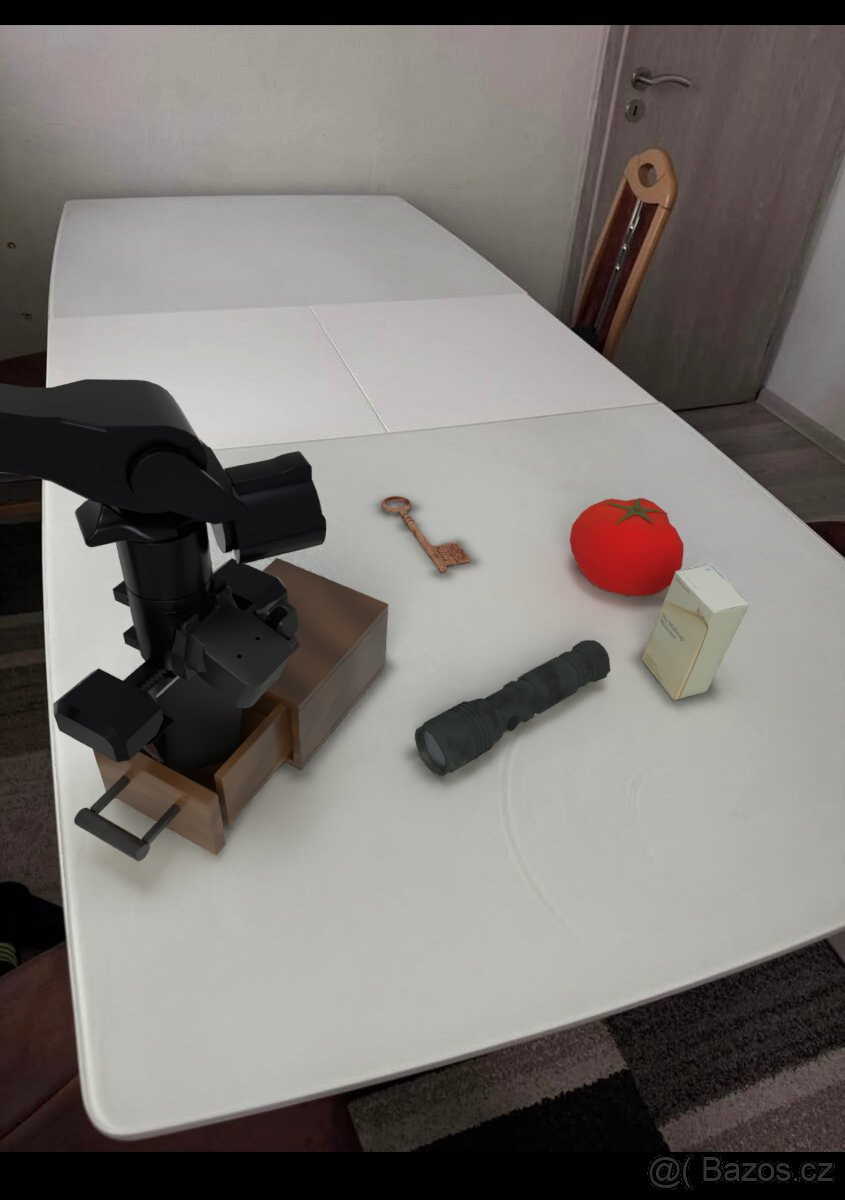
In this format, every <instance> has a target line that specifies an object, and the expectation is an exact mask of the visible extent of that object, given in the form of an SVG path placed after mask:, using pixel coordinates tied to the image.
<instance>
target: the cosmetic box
mask: <svg viewBox="0 0 845 1200" xmlns="http://www.w3.org/2000/svg"><path fill="white" fill-rule="evenodd" d="M750 605H751V603H750V601H749V600H748V599H747V598H746V597H745V596H744V595H743V594H742V593H741V592H740V591H739V590H738V589H737V588H736V587H735V586H734V585H733V583H731V582H730V580H729V579H727V578H726V577H725V576H724V575H723V573H721V572H720V571H719V570H718V569H717V568H716V567H715V566H714V565H713V564H712V563H711V562H709V563H705V564H700V565H696V566H690V567H686V568H683V569H682V568H681V570H678V571H676V572H675V575H674V577H673V580H672V582H671V585H670V586H669V587H668V591H667V592H666V595H665V598H664V600H663V603H662V605H661V608H660V611H659V612H658V615H657V618H656V621H655V623H654V626H653V628H652V631H651V632H650V633H651V634H650V636H649V638H648V641H647V643H646V646H645V648H644V651H643V654H642V655H641V660H642V662H643V663H644V664H645V666H646V667H647V669H648V670H649V671H650V672H651V674H652V675H653V676H654V677H655V678H656V680H657V681H658V683H659V684H660V685H661V686H662V688H663V689H664V690H665V692H666V693H667V694H668V695H669V696H670V698H671V699H672V700H673V701H677V700H681V699H684V698H688V697H691V696H692V697H693V696H695V695H699V694H702V693H706V692H708V690H709V689H710V686H711V684H712V682H713V680H714V678H715V676H716V674H717V672H718V670H719V668H720V666H721V664H722V662H723V660H724V657H725V655H726V654H727V651H728V649H729V648H730V645H731V643H732V641H733V640H734V638H735V635H736V633H737V631H738V629H739V627H740V625H741V623H742V621H743V619H744V617H745V615H746V613H747V611H748V609H749V608H750Z"/></svg>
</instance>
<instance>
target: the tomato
mask: <svg viewBox="0 0 845 1200" xmlns="http://www.w3.org/2000/svg"><path fill="white" fill-rule="evenodd" d="M668 514H669V512H667V511H665V510H664V509H663V508H661V507H660V506H659V505H657V504H656V503H655V502H653V500H652V501H651V500H649V499H647V498H644V497H639V498H634V499H633V498H632V499H628V500H625V499H624V500H623V499H619V498H607V499H604V500H602V501H599V502H596V503H594V504H591V505H590V506H589V507H587V508H586V509H584V510H583V511H582V512H581V513H580V514H579V515H578V517H577V518H576V519H575V521H574V522H573V524H572V526H571V530H570V536H569V544H570V550H571V553H572V554H571V555H572V556H573V558H574V560H575V562H576V565H577V566H578V568H579V570H580V571H581V572H582V573H583V575H584V576H585V578H586V579H587V580H588V581H589V582H590V583H591V584H593V585H594V586H595V587H597V588H599V589H601V590H604V591H605V592H609V593H614V594H619V595H623V596H629V597H630V596H631V597H634V596H635V597H648V596H654V595H656V594H659V593H660V592H662V591H664V590H666V589H667V588H669V587H670V585H671V582H672V580H673V577H674V575H675V572H676V571H678V570H682V568H683V561H684V550H685V547H684V542H683V540H682V539H681V537H680V535H679V532H678V531H677V528H676V527H674V525H672V523H671V522H670V519H669V516H668Z"/></svg>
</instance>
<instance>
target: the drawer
mask: <svg viewBox="0 0 845 1200" xmlns="http://www.w3.org/2000/svg"><path fill="white" fill-rule="evenodd" d="M241 737H242V745H241V746H240V747H239V748H238V749H237V750H236V751H235V752H234V753H233V754H232V755H231V757H230V758H229V759H228V760H227V761H224V762H220V763H217V764H213V765H210V766H206V767H202V768H199V769H195V770H191V771H187V772H183V773H177V772H176V771H174V770H172V769H170V768H168V767H166V766H165V765H163V764H161V763H159V762H158V760H157V759H155V758H154V757H152V756H151V755H150V754H149V753H148V752H147V751H146V750H145V749H144V748H142V749H141V750H140V751H139V752H138V753H137V754H136V755H135V756H134V757H133V758H132V759H131V760H128V761H123V762H115V761H113V760H112V759H110V758H108V757H106V756H104V755H103V754H101V753H99V752H97V751H95V750H94V749H92V753H93V755H94V758H95V761H96V765H97V769H98V771H99V774H100V777H101V780H102V783H103V786H104V790H105V792H104V794H102V795H101V796H100V797H99V798H98V799H97V800H96V801H95V802H94V803H93V804H92V805H91V806H90V807H83V808H81V809H80V810H79V811H78V812H76V814H75V816H74V820H73V823H74V825H76V826H77V827H78V828H80V829H82V830H83V831H86V832H87V833H89V834H90V835H92V836H94V837H96V838H97V839H99V840H101V841H102V842H104V843H105V844H107V845H108V846H111V847H113V849H116V850H118V852H121V853H122V854H124V855H126V856H127V857H129V858H131V859H132V860H134V861H135V862H141V861H143V860H145V858H146V857H147V855H148V854H149V852H150V849H151V845H152V843H153V842H154V841H155V840H156V839H157V838H158V836H159V835H160V834H161V833H162V832H163V831H164V829H165V828H167V829H169V830H171V831H172V832H174V833H176V834H178V835H179V836H181V837H183V838H184V839H187V840H188V841H190V842H191V843H193V844H195V845H197V846H199V847H200V848H202V849H204V850H206V851H207V852H209V853H211V854H212V855H214V856H218V855H219V854H220V853H221V851H222V850H223V849H224V848H225V847H226V845H227V842H226V836H225V829H224V824H226V825H227V826H231V825H232V823H233V822H234V821H235V820H236V819H237V818H238V816H239V815H241V813H242V811H244V809H245V808H246V807H247V806H248V804H249V803H250V802H251V801H252V800H253V798H254V797H255V796H256V795H257V794H258V793H259V791H260V790H261V789H262V788H263V787H264V786H265V784H266V783H267V782H268V781H269V780H270V779H271V777H272V776H273V775H274V774H275V773H276V772H277V770H278V769H279V768H280V767H281V765H282V764H283V763H285V762H284V760H285V759H286V758H287V757H288V756H289V755H290V753H291V752H292V751H293V738H292V721H291V708H289V707H287V706H285V705H283V704H281V703H279V702H277V701H275V700H273V699H271V698H269V697H267V696H264V695H262V696H261V697H260V698H259V699H258V701H257V702H256V703H255V704H254V705H253V706H251V707H249V708H242V727H241ZM114 799H115V800H116V799H117V801H120V802H122V803H123V804H125V805H127V806H129V807H131V808H132V809H134V810H136V811H137V812H139V813H141V814H142V815H144V816H146V817H148V818H149V819H151V820H153V821H155V823H154V824H153V825H152V826H151V827H150V828H149V830H147V831H146V833H145V834H143V836H142V837H141V838H140V837H138V836H137V835H135V834H134V833H132V832H130V831H128V830H126V829H125V828H124V827H121V826H120V825H118V824H116V823H114V822H113V821H111V820H109V819H108V818H106V817H105V816H103V815H101V814H100V813H102V811H103V810H104V809H105V808H106V807H108V805H110V803H111V802H112V801H114Z"/></svg>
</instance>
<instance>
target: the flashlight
mask: <svg viewBox="0 0 845 1200" xmlns="http://www.w3.org/2000/svg"><path fill="white" fill-rule="evenodd" d="M610 660H611V659H610V656H609V653H608V651H607V650H606V648H605V647H604V646H603V645H602V643H601V642H599V641H597V640H595V639H586V640H581V641H579V642H578V643H575V645H574V646H572V648H571V650H568V651H565V652H562V653H561V654H559V655H558V656H555V657H553V658H552V659H549V660H547V661H545V662H543V663H541V664H540V665H538V666H535V667H534V668H532V669H530V670H528V671H527V672H525V673H523V674H522V675H521V674H520V676H518V677H517V679H516V680H512V681H509V682H506V683H505V684H504V685H503V686H502V688H501V689H499V690H497V691H495V692H494V693H492V694H490V695H488V696H486V697H484V698H482V697H481V698H475V699H471V700H464V701H463V700H462V702H460V703H457V704H456V705H454V706H452V707H450V708H448V709H446V710H444V711H442V712H440V713H438V714H436V715H435V716H433V717H431V718H430V719H428V720H426V721H424V722H423V723H422V725H420V726H418V727H417V728H416V729H415V732H414V741H415V745H416V749H417V751H418V755H419V756H420V758H421V759H422V761H423V762H424V764H425V766H427V768H428V769H429V770H430V771H431V772H433V773H434V774H438V776H440V777H444V776H446V775H447V774H452V773H454V772H455V771H457V770H459V769H460V768H462V767H464V766H466V765H467V764H469V763H470V762H472V761H473V760H474V761H475V760H476V759H477V758H479V757H480V756H482V755H484V754H485V753H487V752H488V751H490V750H492V748H493V746H494V745H495V744H496V743H497V742H498V741H499V740H501V738H502V737H503V735H504V733H506V732H513V731H515V730H516V729H517V727H518V726H519V724H521V723H527V722H528V721H530V720H532V719H533V718H535V715H541V714H542V713H544V712H546V711H547V710H549V709H550V708H551V709H552V707H554V706H556V705H558V704H559V703H561V702H562V701H564V700H566V699H567V698H569V697H571V696H572V695H574V694H575V693H577V692H578V690H579V689H580V688H582V687H584V686H586V685H588V684H589V683H596V682H598V681H601V680H603V679H605V678H607V677H608V674H610V672H611V662H610Z"/></svg>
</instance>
